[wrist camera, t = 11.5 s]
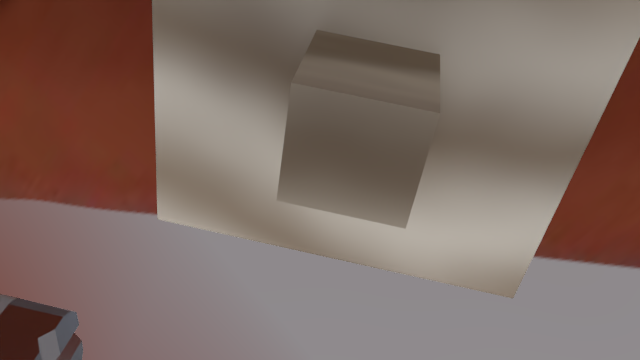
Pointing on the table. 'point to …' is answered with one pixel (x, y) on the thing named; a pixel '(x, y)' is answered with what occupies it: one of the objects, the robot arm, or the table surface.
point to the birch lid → (383, 124)
